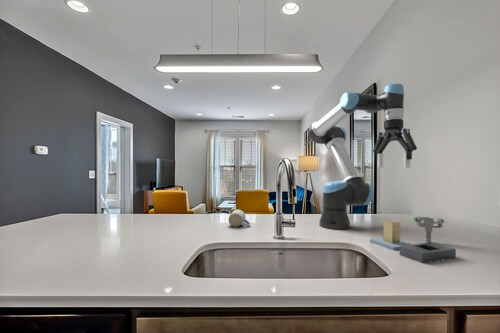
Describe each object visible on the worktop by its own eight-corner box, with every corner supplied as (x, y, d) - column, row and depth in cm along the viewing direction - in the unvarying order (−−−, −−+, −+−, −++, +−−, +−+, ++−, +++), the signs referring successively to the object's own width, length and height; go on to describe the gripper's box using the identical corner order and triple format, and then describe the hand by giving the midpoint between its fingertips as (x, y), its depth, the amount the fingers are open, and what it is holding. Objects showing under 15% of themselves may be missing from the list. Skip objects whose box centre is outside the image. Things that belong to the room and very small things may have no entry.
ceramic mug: (227, 227, 123) (228, 211, 123) (231, 223, 131) (231, 208, 131) (248, 228, 122) (249, 212, 122) (251, 224, 130) (251, 210, 130)
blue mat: (369, 241, 102) (369, 239, 102) (389, 239, 106) (389, 237, 106) (393, 250, 92) (393, 247, 92) (414, 247, 95) (414, 244, 95)
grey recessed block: (399, 254, 87) (399, 246, 87) (431, 250, 92) (431, 242, 92) (422, 263, 79) (422, 253, 79) (455, 257, 85) (455, 248, 85)
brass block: (383, 240, 100) (383, 220, 100) (390, 240, 101) (391, 220, 101) (392, 243, 96) (392, 222, 96) (399, 242, 98) (400, 222, 98)
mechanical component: (444, 244, 100) (444, 219, 101) (416, 242, 103) (416, 217, 103) (440, 242, 103) (440, 217, 104) (413, 240, 105) (413, 216, 106)
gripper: (365, 123, 122) (364, 167, 122) (413, 113, 98) (413, 167, 98) (377, 124, 124) (376, 167, 124) (427, 115, 101) (426, 167, 100)
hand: (392, 167), depth 111 cm, fingers open, 13 cm apart
